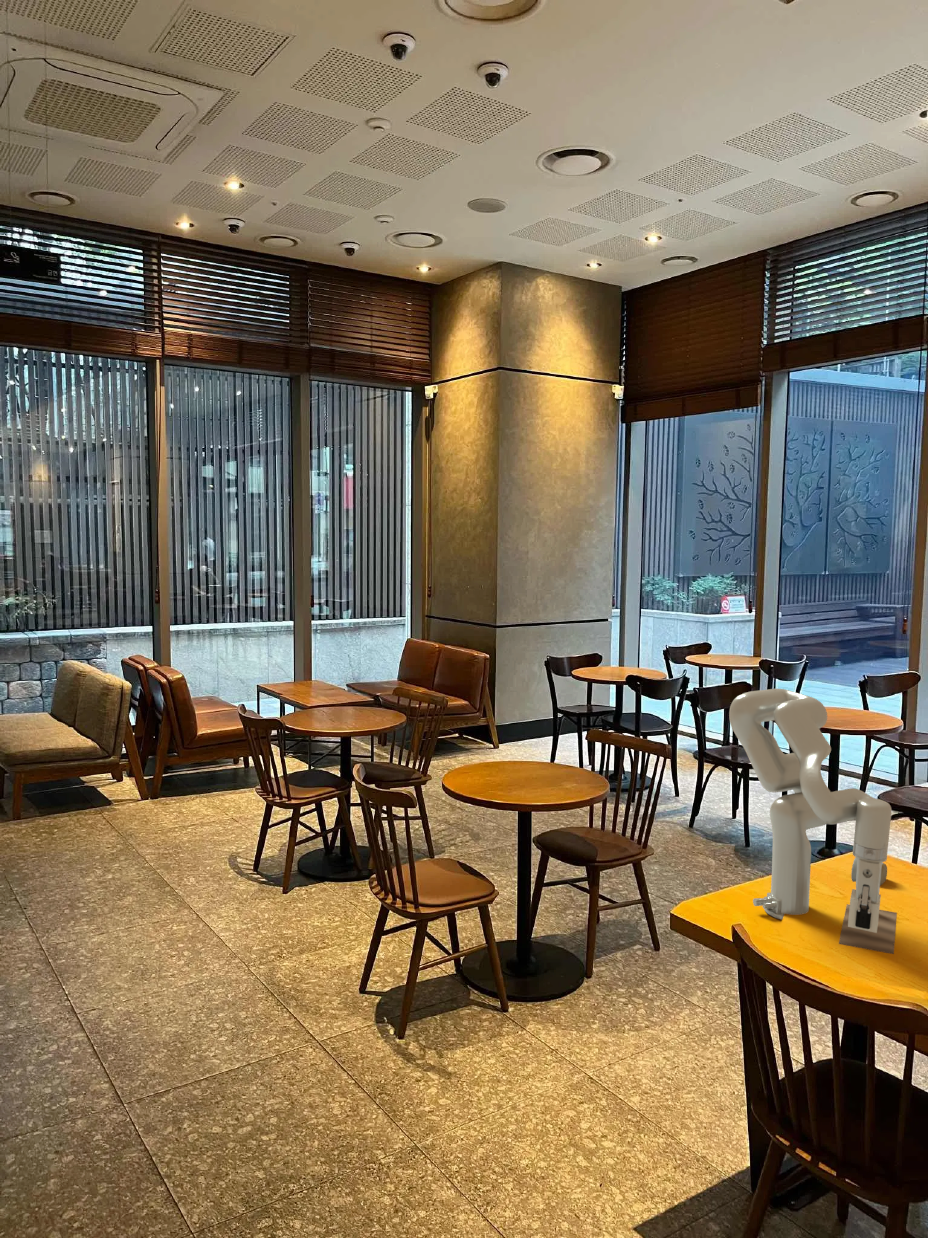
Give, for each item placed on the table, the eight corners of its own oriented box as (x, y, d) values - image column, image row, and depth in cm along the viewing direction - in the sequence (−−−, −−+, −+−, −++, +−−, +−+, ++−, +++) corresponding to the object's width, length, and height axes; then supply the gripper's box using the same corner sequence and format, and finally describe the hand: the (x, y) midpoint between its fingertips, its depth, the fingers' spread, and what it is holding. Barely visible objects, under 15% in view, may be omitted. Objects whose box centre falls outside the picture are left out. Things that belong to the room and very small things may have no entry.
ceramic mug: (880, 892, 259) (882, 865, 258) (850, 885, 264) (851, 858, 263) (890, 881, 267) (891, 855, 267) (860, 874, 272) (861, 849, 272)
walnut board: (893, 960, 219) (893, 954, 218) (838, 949, 224) (838, 943, 224) (896, 918, 242) (896, 912, 242) (846, 909, 247) (846, 904, 247)
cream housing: (876, 933, 221) (879, 905, 220) (847, 926, 224) (850, 899, 223) (878, 922, 227) (880, 894, 226) (849, 916, 230) (852, 889, 229)
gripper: (885, 866, 213) (878, 940, 216) (888, 841, 229) (881, 910, 231) (850, 860, 217) (843, 932, 219) (855, 836, 232) (849, 904, 235)
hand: (863, 920), depth 225 cm, fingers closed on cream housing, 6 cm apart
